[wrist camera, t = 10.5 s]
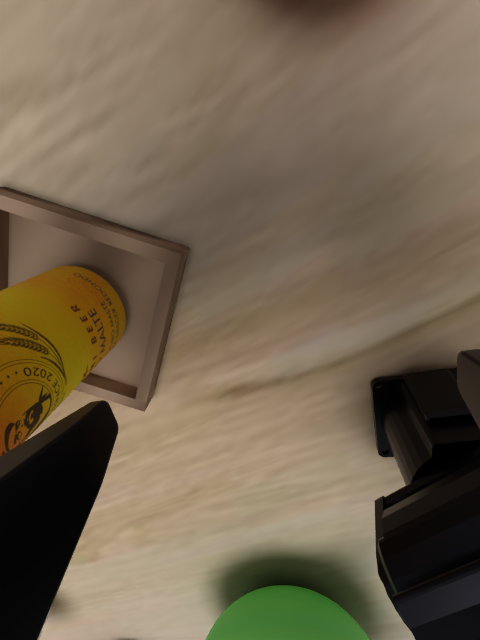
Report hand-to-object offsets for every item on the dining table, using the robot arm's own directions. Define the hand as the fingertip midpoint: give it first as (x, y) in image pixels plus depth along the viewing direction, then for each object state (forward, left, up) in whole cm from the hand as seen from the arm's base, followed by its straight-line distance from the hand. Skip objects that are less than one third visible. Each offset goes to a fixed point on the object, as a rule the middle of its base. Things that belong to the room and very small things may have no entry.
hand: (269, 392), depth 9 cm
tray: (0, +13, -13) cm, 18 cm away
